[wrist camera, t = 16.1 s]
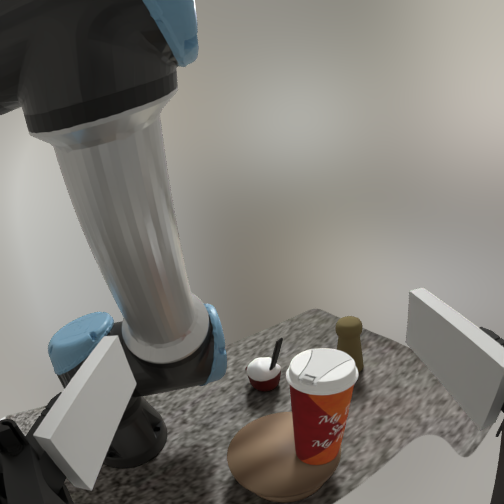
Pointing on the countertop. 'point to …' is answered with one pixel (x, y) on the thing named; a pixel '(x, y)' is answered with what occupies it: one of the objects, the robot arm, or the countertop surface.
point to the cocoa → (265, 370)
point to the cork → (350, 339)
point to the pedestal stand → (275, 461)
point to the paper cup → (320, 402)
